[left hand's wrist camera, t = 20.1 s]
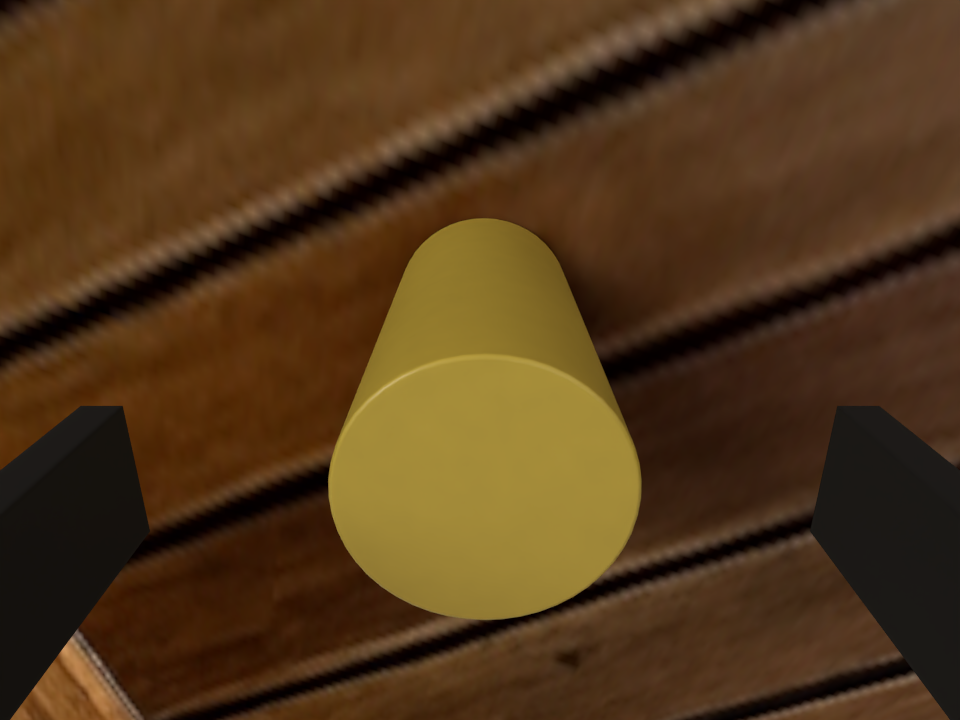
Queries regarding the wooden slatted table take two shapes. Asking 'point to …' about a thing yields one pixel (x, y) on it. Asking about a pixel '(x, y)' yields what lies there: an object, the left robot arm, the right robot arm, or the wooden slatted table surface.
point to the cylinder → (484, 436)
